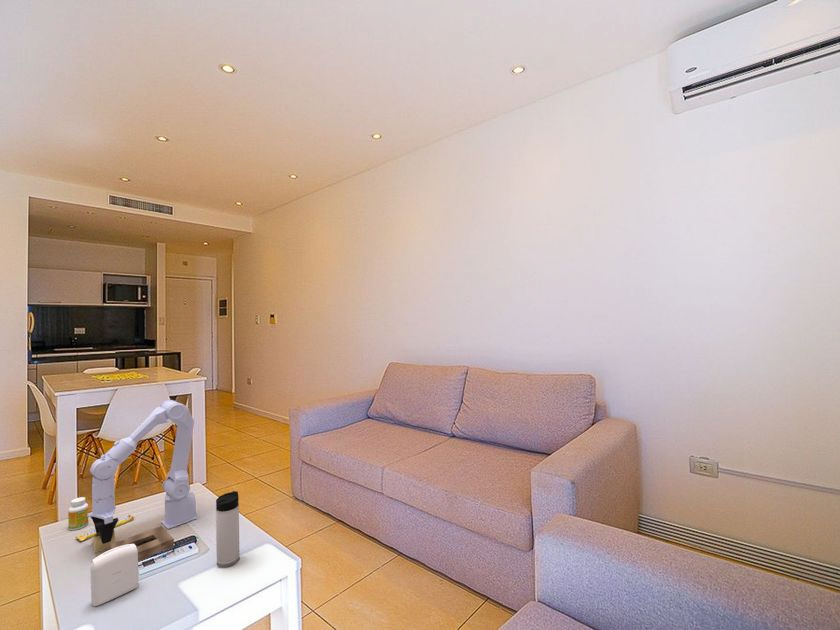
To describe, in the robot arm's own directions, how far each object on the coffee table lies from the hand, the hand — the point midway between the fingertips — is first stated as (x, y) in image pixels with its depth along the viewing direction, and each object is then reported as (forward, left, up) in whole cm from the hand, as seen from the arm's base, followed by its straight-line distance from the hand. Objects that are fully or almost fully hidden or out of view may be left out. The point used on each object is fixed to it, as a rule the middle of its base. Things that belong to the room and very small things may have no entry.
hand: (103, 538), depth 127 cm
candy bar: (-3, -14, -4) cm, 15 cm away
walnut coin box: (-7, +14, -3) cm, 16 cm away
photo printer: (+3, +30, -3) cm, 30 cm away
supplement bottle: (+3, -24, -3) cm, 24 cm away
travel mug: (-23, +39, -3) cm, 45 cm away
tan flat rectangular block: (0, 0, -3) cm, 3 cm away
